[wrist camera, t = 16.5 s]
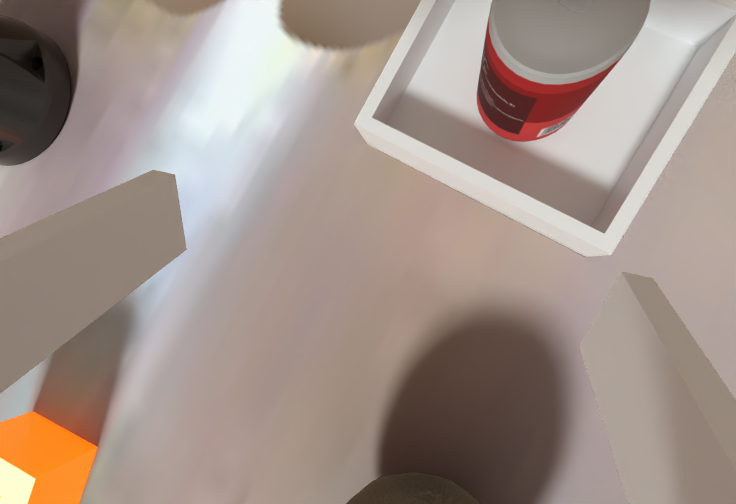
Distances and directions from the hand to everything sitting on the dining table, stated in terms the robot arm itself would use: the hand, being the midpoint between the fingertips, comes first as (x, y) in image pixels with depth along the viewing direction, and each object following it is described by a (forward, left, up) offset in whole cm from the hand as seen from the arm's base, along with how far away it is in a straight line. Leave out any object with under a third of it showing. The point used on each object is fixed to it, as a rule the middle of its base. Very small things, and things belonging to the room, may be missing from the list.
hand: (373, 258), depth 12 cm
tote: (+1, +16, -22) cm, 27 cm away
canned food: (+1, +16, -21) cm, 26 cm away
